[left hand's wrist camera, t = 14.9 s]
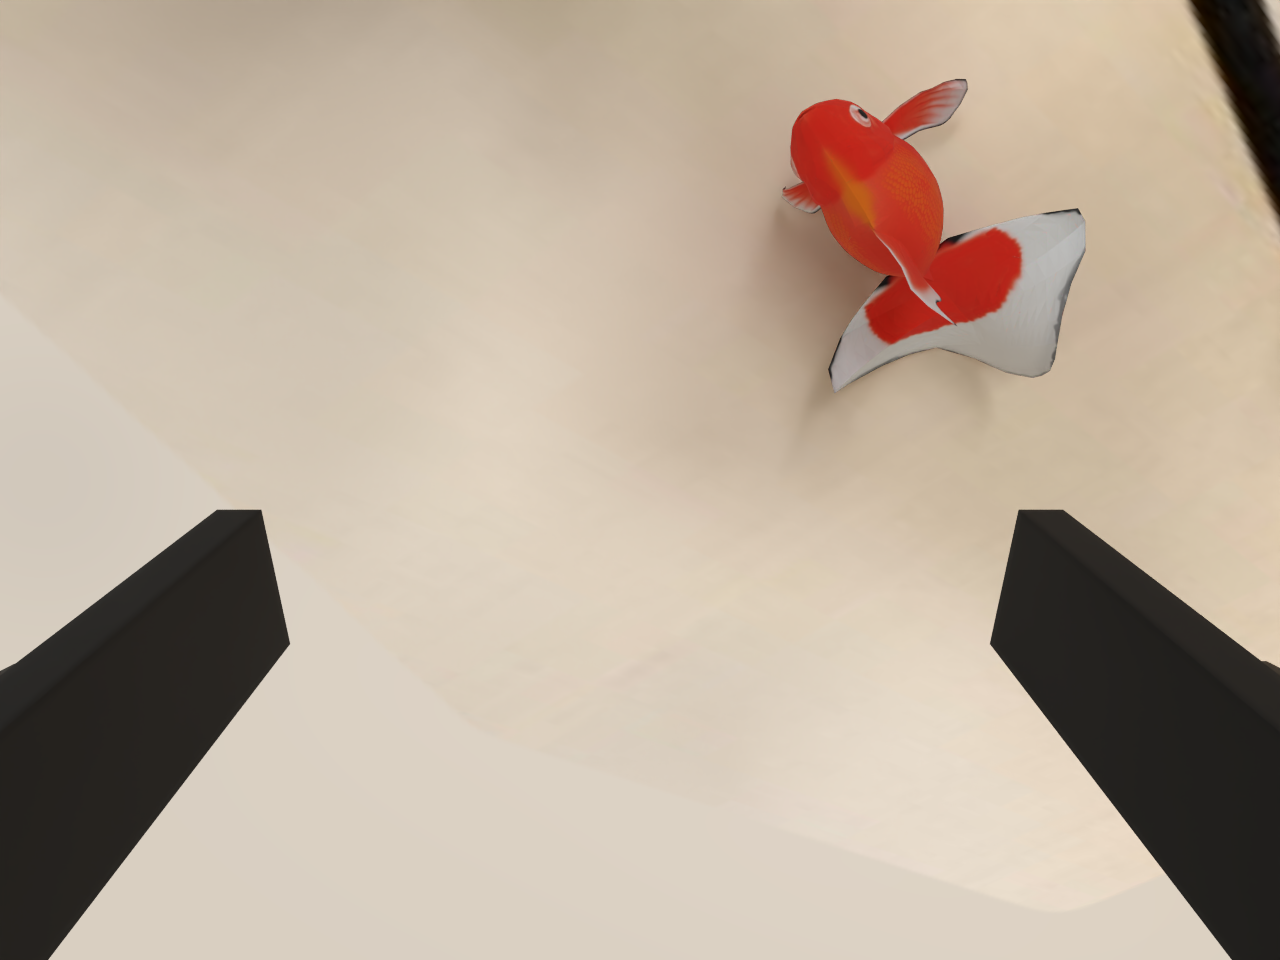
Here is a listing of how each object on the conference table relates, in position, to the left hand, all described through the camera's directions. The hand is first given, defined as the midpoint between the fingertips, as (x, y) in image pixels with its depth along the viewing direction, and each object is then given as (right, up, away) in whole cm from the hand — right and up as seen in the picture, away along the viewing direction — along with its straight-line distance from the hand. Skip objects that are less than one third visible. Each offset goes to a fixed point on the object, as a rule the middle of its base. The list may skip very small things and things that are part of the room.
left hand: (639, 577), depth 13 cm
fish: (+12, +12, +21) cm, 27 cm away
